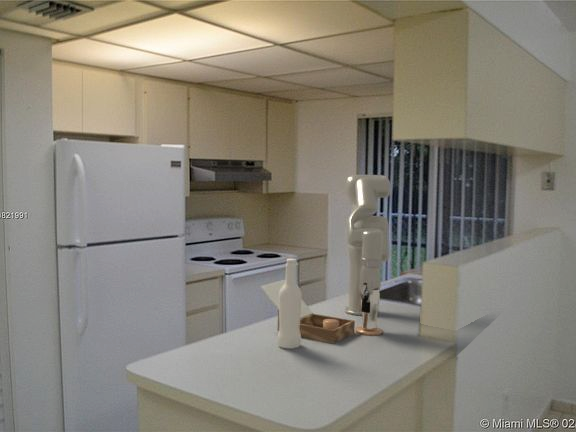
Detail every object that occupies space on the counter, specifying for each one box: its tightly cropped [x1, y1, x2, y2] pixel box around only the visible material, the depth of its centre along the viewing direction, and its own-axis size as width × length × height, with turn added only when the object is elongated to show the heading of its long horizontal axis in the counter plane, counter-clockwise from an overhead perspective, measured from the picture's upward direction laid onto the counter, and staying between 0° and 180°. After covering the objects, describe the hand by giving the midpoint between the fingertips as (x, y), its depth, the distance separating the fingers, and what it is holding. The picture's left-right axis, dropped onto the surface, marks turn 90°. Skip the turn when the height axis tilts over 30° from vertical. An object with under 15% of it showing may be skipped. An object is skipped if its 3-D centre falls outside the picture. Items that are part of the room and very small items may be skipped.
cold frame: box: [299, 313, 356, 344], centre depth 203 cm, size 17×18×4 cm
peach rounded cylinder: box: [322, 319, 339, 330], centre depth 199 cm, size 6×6×6 cm
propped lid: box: [259, 279, 314, 332], centre depth 211 cm, size 17×14×16 cm
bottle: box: [276, 258, 303, 350], centre depth 186 cm, size 8×8×30 cm
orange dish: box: [355, 326, 383, 337], centre depth 207 cm, size 10×10×1 cm
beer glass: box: [360, 288, 381, 330], centre depth 207 cm, size 7×7×15 cm
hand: (369, 309), depth 207 cm, fingers closed on beer glass, 6 cm apart
